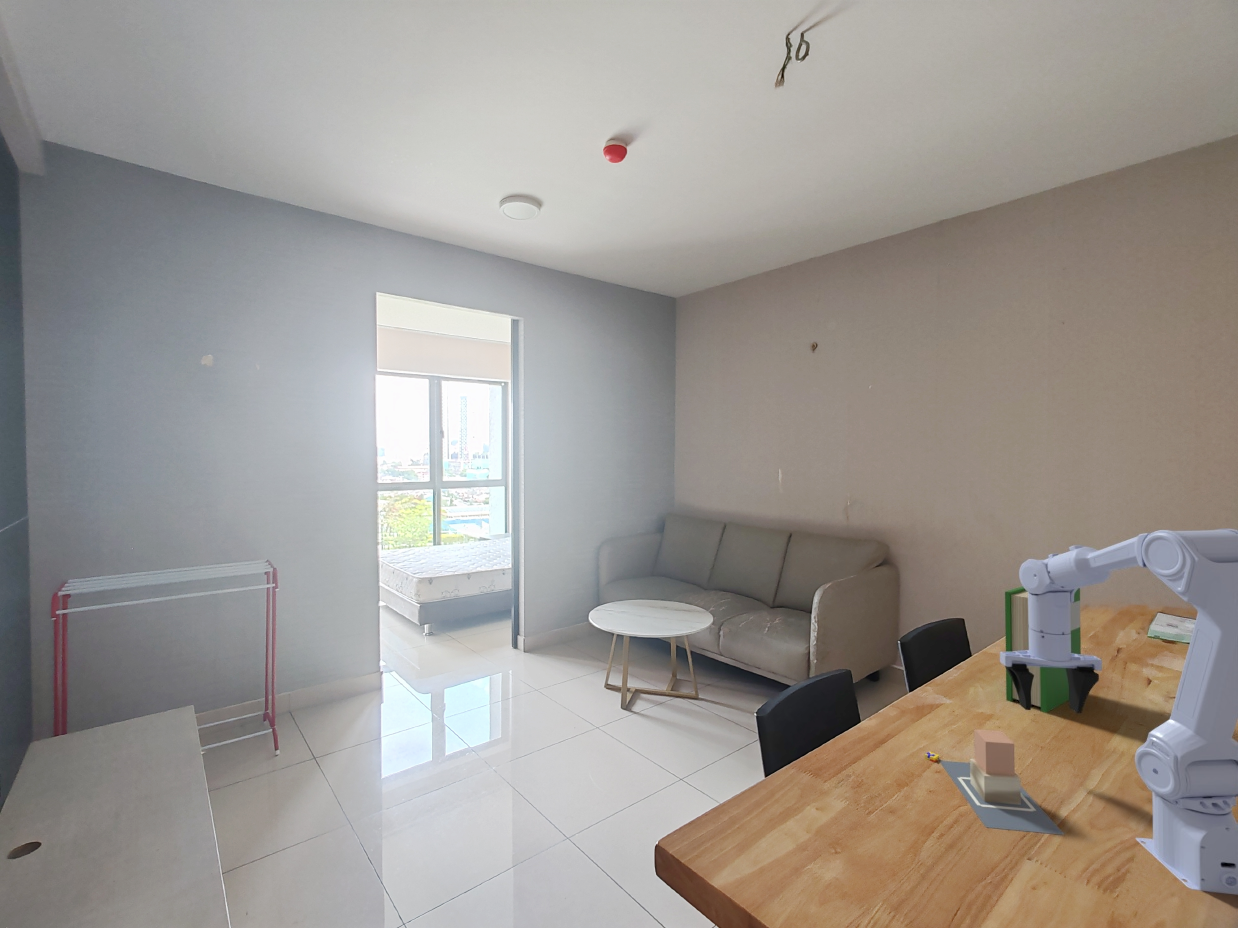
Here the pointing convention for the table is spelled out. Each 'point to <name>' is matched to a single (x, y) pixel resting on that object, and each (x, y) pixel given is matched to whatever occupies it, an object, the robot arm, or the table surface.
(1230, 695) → the robot arm
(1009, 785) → the birch base block
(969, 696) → the table surface
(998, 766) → the terracotta block
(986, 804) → the board
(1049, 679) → the hardback book
